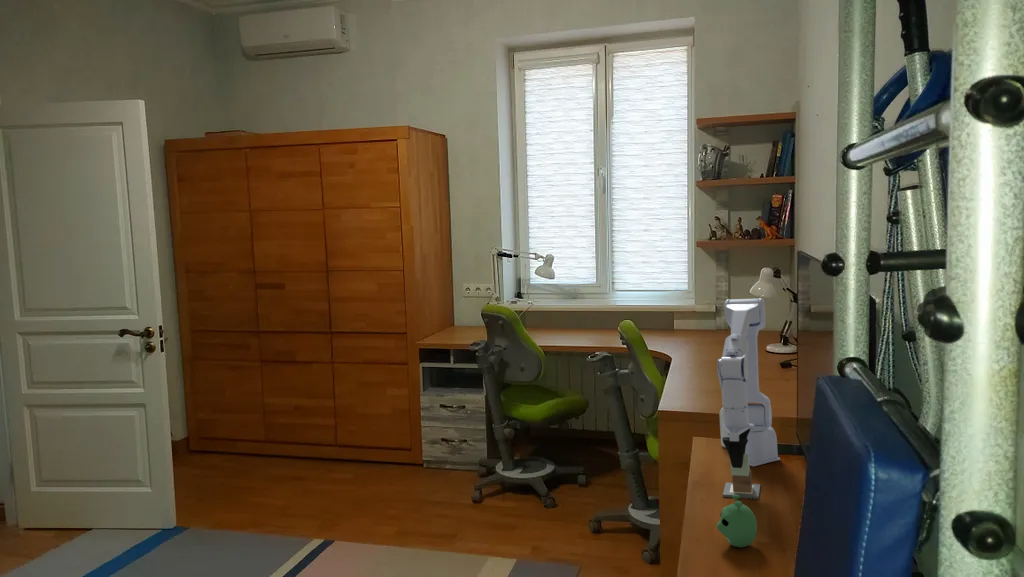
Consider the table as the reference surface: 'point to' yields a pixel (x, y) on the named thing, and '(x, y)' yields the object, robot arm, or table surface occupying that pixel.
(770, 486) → the table surface
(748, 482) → the walnut block
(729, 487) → the grey flat square tile
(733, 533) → the alien toy
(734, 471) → the sage block
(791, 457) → the table surface
